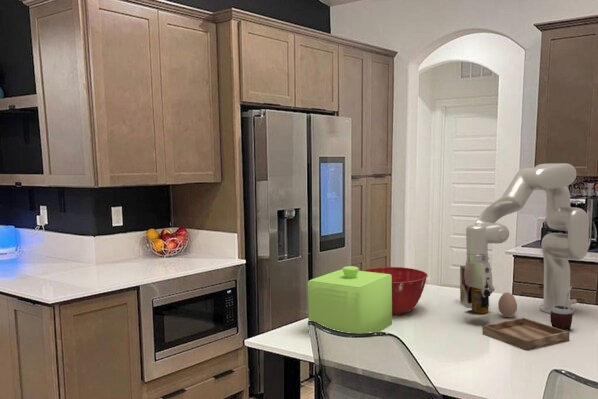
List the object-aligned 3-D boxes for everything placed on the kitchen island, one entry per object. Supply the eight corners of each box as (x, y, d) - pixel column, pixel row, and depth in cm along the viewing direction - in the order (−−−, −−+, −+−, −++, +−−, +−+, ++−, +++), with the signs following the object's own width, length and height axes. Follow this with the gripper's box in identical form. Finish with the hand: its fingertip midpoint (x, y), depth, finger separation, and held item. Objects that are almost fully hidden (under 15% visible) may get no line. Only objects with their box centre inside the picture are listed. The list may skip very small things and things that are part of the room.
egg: (511, 320, 197) (511, 295, 196) (494, 317, 202) (495, 292, 201) (520, 317, 201) (520, 292, 201) (503, 313, 206) (503, 289, 206)
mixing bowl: (414, 324, 195) (413, 283, 194) (346, 314, 210) (346, 276, 209) (436, 306, 219) (436, 270, 218) (374, 298, 234) (374, 264, 233)
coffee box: (481, 307, 216) (481, 269, 215) (466, 307, 217) (466, 269, 216) (474, 301, 226) (474, 265, 225) (459, 301, 226) (459, 265, 225)
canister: (343, 316, 208) (342, 259, 206) (392, 324, 196) (391, 264, 194) (308, 333, 187) (307, 270, 186) (360, 343, 175) (359, 276, 174)
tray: (523, 325, 191) (523, 317, 190) (569, 340, 174) (569, 331, 173) (482, 333, 182) (482, 325, 182) (526, 350, 165) (527, 341, 165)
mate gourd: (551, 331, 183) (551, 290, 182) (548, 325, 191) (549, 285, 190) (574, 333, 181) (575, 291, 180) (571, 326, 188) (572, 286, 187)
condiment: (493, 312, 194) (493, 281, 193) (479, 317, 190) (478, 285, 189) (477, 308, 200) (476, 278, 199) (463, 312, 196) (462, 281, 195)
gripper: (502, 260, 187) (503, 308, 188) (468, 253, 203) (469, 298, 204) (487, 262, 184) (488, 312, 185) (453, 255, 200) (454, 301, 201)
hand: (478, 304), depth 195 cm, fingers closed on condiment, 6 cm apart
